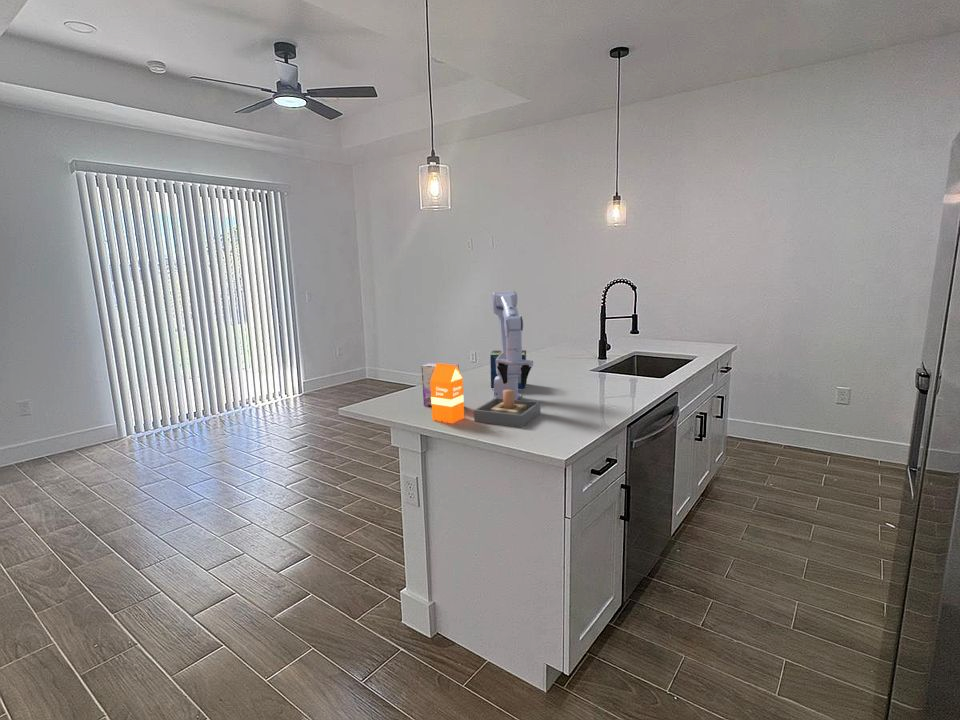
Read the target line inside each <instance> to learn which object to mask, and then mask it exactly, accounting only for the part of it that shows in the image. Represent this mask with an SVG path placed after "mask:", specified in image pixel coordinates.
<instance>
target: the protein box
mask: <svg viewBox="0 0 960 720" xmlns="http://www.w3.org/2000/svg"><path fill="white" fill-rule="evenodd" d="M501 353H502V350H492V351H491V352H490V354H489V355H490V358H489V360H490V389H491V388H494V379H495V377H496V376H498V375H497V372H496V359H497V357H498V356H499V355H500V354H501ZM522 359H523V360H527V350H523V349H522ZM522 367H523V366H522ZM527 383H528V381H526V385H524V386H523V385H522V373H521V374H520V375H519V377H518V390H525V389H526V388H527ZM524 388H525V389H524Z"/></svg>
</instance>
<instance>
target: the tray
mask: <svg viewBox="0 0 960 720" xmlns="http://www.w3.org/2000/svg"><path fill="white" fill-rule="evenodd" d="M501 402H503V398H493V399H491V400H489V401H487V402H485V403H484V404H481V406H479V407H477V408H475V409H474V410H473V418H474V419H473V421H474V422H479V423H480V422H481V423H486V424H495V425H502V426H509V427H517V428H518V427H519V428H523V427H524V426H525V425H526V424H528V423H529V422H530V421H532V420H533V419H535V418H536V417H537V416H538V415H540V414H541V401H532V400H525V399H524V400H523V399H516V400H515V399H514V403H516V404H525V405H527V410H526V411H524V412H523V413H522V414H520V415H518V414H509V413H501V412H492V411H490V409H491V408H493V407H495V406H496V405H498V404H499V403H501Z"/></svg>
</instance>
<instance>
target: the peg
mask: <svg viewBox="0 0 960 720" xmlns="http://www.w3.org/2000/svg"><path fill="white" fill-rule="evenodd" d="M503 409H512V410H513V409H514V390H511V389H507V390H503Z"/></svg>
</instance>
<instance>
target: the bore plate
mask: <svg viewBox="0 0 960 720" xmlns="http://www.w3.org/2000/svg"><path fill="white" fill-rule="evenodd" d="M526 410H527V405H525V404H516V403H514V409H513V410H512V409H503V402H501V403H499V404H498V405H496V406H495V407H493V408H491V409H490V411H492V412H501V413H509V414H518V415H520V414H522V413H523V412H524V411H526Z"/></svg>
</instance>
